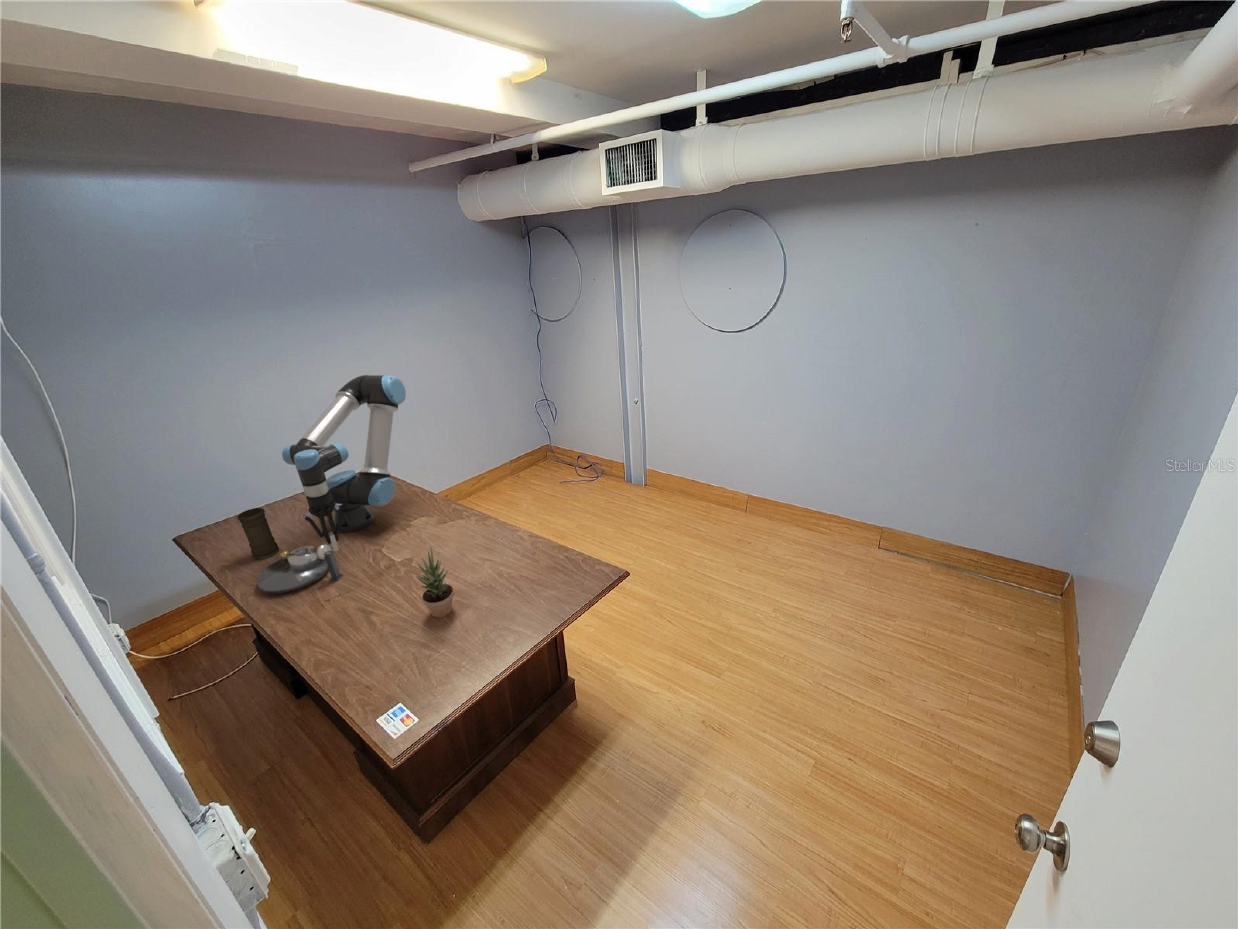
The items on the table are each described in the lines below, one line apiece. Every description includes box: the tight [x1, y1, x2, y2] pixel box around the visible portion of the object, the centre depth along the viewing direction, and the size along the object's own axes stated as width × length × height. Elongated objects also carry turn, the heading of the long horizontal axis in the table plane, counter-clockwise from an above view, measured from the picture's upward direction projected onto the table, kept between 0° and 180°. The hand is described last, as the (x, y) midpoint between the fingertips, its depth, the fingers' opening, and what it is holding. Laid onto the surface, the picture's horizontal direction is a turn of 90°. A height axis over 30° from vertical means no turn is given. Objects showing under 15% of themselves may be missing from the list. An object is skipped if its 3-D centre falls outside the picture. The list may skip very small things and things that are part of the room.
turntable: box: [256, 549, 329, 595], centre depth 176 cm, size 22×22×5 cm
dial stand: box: [316, 544, 344, 582], centre depth 174 cm, size 4×5×14 cm
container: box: [237, 507, 280, 560], centre depth 190 cm, size 9×9×18 cm
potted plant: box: [415, 544, 455, 618], centre depth 153 cm, size 10×10×25 cm
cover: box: [287, 545, 320, 572], centre depth 178 cm, size 9×9×6 cm
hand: (335, 549), depth 185 cm, fingers closed
